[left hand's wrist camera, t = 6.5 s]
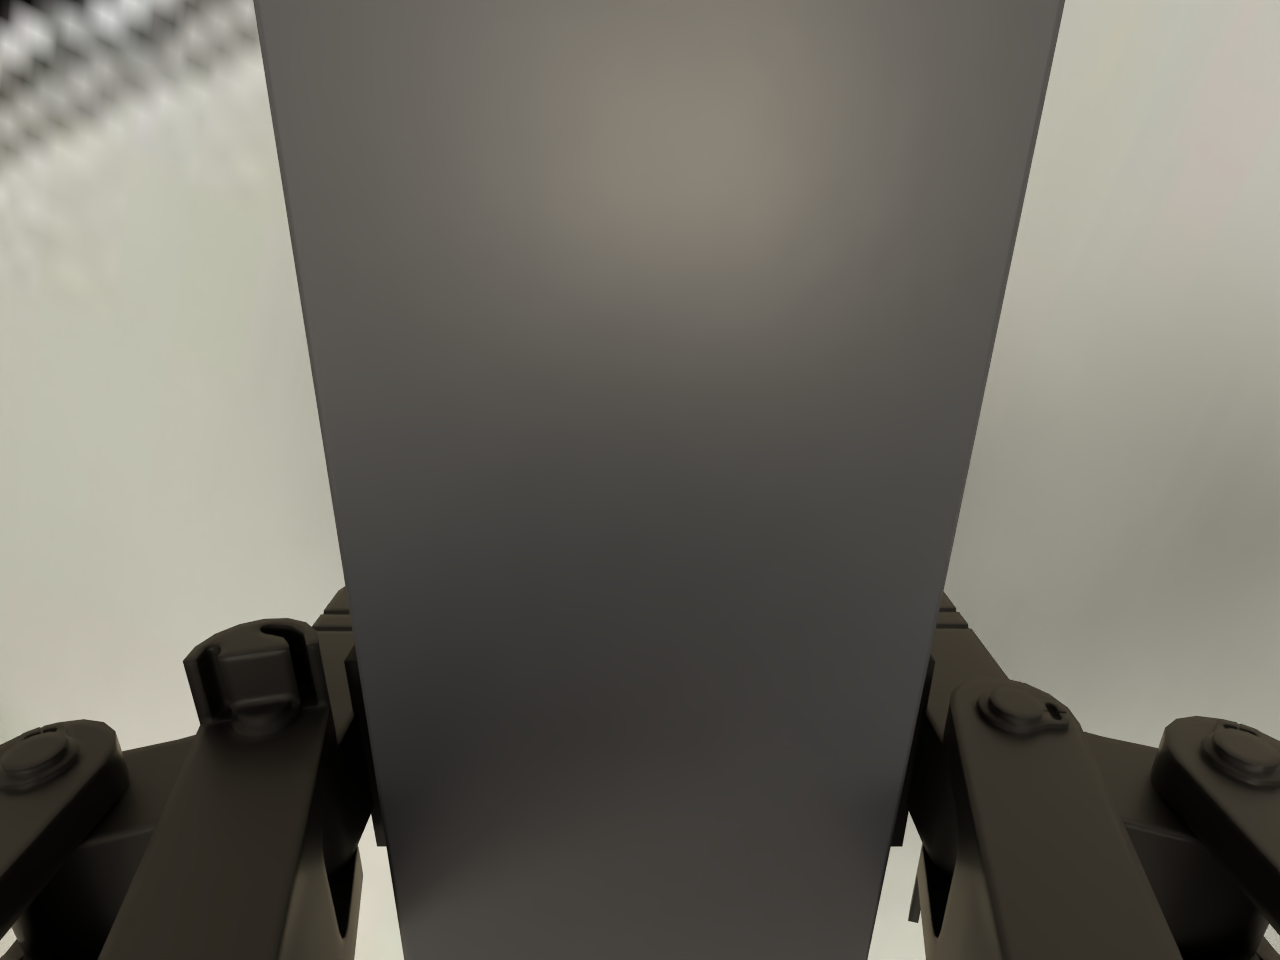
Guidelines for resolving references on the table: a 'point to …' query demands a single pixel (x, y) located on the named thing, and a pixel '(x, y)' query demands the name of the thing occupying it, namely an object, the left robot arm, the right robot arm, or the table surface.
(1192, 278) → the table surface
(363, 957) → the table surface
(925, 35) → the post
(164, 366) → the table surface
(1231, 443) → the table surface
